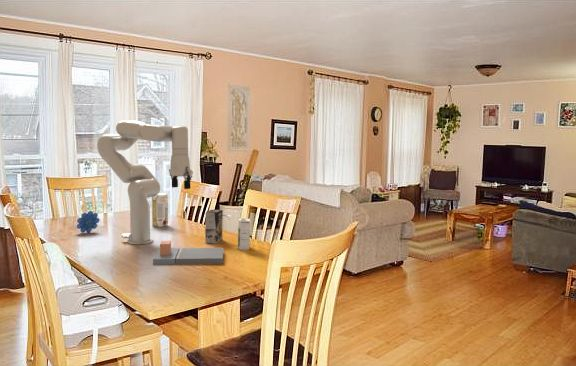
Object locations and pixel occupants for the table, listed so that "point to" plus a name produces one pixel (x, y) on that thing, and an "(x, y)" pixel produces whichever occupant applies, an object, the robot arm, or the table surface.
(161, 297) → the table surface
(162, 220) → the juice carton
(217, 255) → the board
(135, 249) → the table surface
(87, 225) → the grapes
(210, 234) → the coffee box
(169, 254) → the stub
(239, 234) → the syrup box
